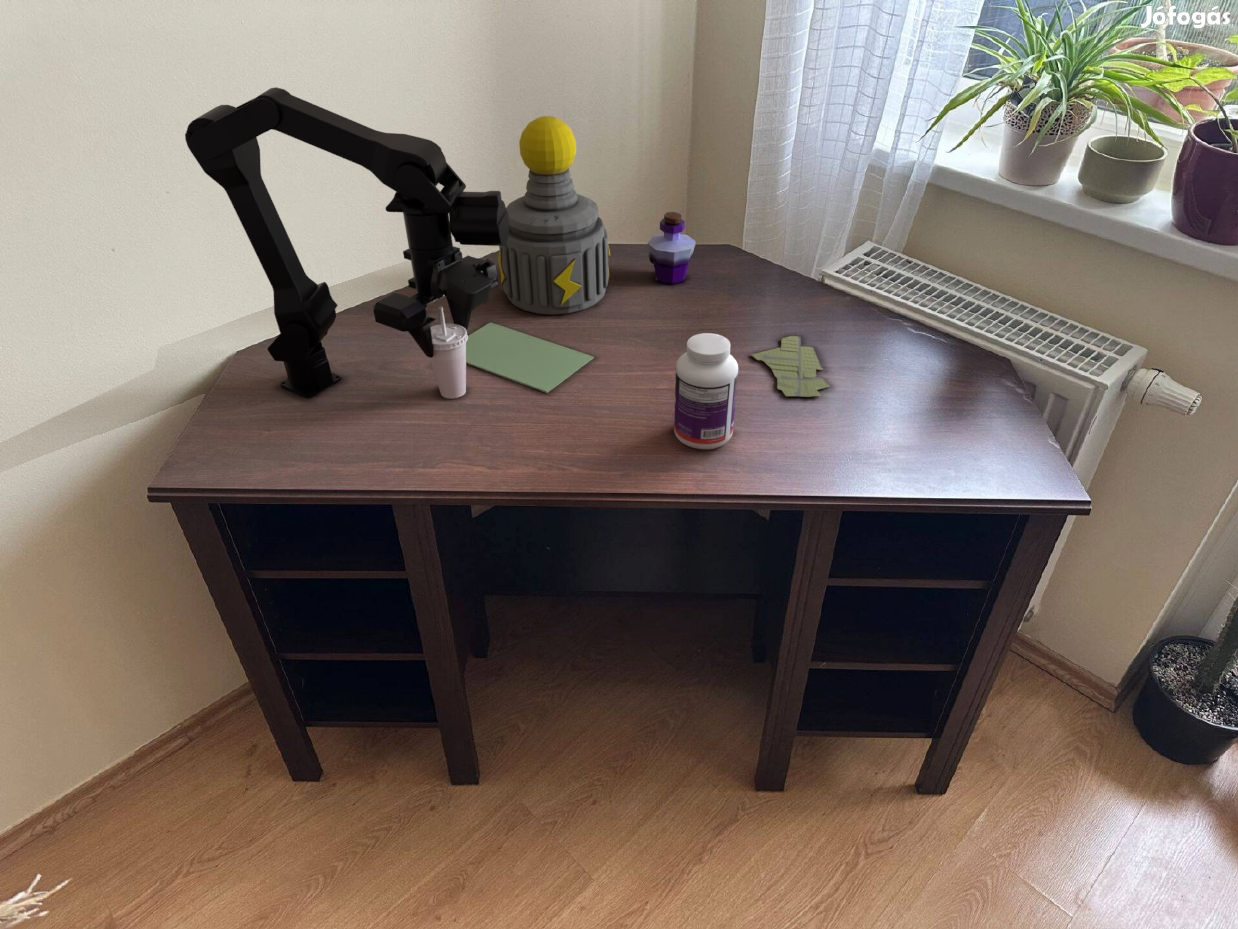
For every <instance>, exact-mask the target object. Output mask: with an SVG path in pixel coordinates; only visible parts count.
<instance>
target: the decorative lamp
mask: <svg viewBox="0 0 1238 929" xmlns="http://www.w3.org/2000/svg"><path fill="white" fill-rule="evenodd" d="M518 145H519V154H520V157H521V159H522V161H523V164H524V165H525V166H526V167H527V169H528V180H527V182H526V184H525V189H526V191H525V193H524V195H523V196H521V197H518V198H516V199H514V200H512V201H511V202H509V203H508V205H507V206H506V210H508V216H509V232H508V239H507V243H506V245H505V246H498V248H499V252H498V256H497V262H498V266H499V271H500V286H502V289H503V292H504V294H505V295H506V296H507V299H508V300H509V302H510V303H511V304H513V306H515V307H516V308H519V309H521V310H522V311H525V312H527V313H528V312H529V313H532V314H536V315H546V316H560V315H569V314H573V313H578V312H582V311H585V310H587V309H590V308H591V307H594V306H595V305H596V304H598V302H600V301H601V300H602V299H603V298H604V296H605V294H606V290H607V287H608V285H609V278H610V270H609V268H610V267H609V260H610V258H611V250H610V246H609V239H608V238H609V236H608V231H607V228H606V227H605V223H604V220H603V219H602V218H601V217H600V214H599V207H598V205H597V204H598V203H596V202H595V201H594V200H593V199H591V198H590V197H588V196H584V195H583V194H582V195H581V194H579V193H577V191H576V190H575V185H574V184H575V183H574V181H573V179H572V177H571V176H572V174H571V172H570V167H571V166H572V164H573V163H574V161H575V157H576V154H577V140H576V138H575V135H574V133H573V131H572V129H571V127H570V126H569V125H568V124H567V123H566V121H563V120H561V119H559V118H557V117H555V116H552V115H543V116H539V117H536V118H534V119H533V120H532V121H529V122H528V124H527V125H526V126H525V128H523V130H522V132H521V134H520V138H519V142H518Z"/></svg>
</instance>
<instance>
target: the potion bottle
mask: <svg viewBox="0 0 1238 929" xmlns="http://www.w3.org/2000/svg"><path fill="white" fill-rule="evenodd" d="M685 229H686V221H685V220H684V219H682V214H681V213H679V212H676V211H668V212H667V211H666V212H665V213H664V214H663V218H662V219H661V220H660V221H659V230H660V231H661V232H662V234H656V235H652V237H651V238H650V240H649V241H648V242H647V248H648V259H649V260H648V261H649V262H650V264H653V268H654V269H653V270H654V272H655V273H654V274H655V281H657V282H659V283H660V284H662V285H669V286H675V285H679V284H683V283H684V282H685V280H686V279H687V277H686V275H687V273H688V268H689V264H690V261H691V259H692V258H693V254H694V252H695V251H694V250H695V247H696V244H697V243H696V242H697V241H696V240H695V239H693V238H692V237H690V236H689V235H687V234H681V233H683V231H684V230H685Z"/></svg>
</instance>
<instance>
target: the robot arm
mask: <svg viewBox="0 0 1238 929" xmlns="http://www.w3.org/2000/svg"><path fill="white" fill-rule="evenodd" d="M186 128H187V129H186V130H185V131H186V132H185V133H184V138H185V139H184V140H185V142H186V143H185V144H186V145H187V148H188V150H189V151H190V153H191V154H192V156H193V157H194V159H195V160H196V162H197V163H198V165H199V166H200V168H201V170H202V171H203V172H204V173H205V174H206V175H207V176H208V177H209V178H210V179H212V180H213V181H214V182H215V183H217V185H219V186H220V187H222V188H223V190H224V191H225V193H226V195H227V197H228V199H229V201H230V203H231V205H232V207H233V210H234V211H235V213H236V215H237V217H238V219H239V222H240V224H241V227H242V228H243V230H244V231H245V234H246V236H247V238H248V240H249V242H250V244H251V246H252V248H253V251H254V253H255V254H256V257H257V259H258V261H259V263H260V265H261V267H262V269H263V271H264V273H265V276H266V277H267V279H268V282H269V284H270V286H271V288H272V291H273V314H274V318H275V321H276V324H277V328H278V330H279V334H278V336H276V337H275V339H274V340H273V341H272V343H270V345H268V347H267V348H266V349H267V352H268V353H269V354H270V356H271V357H272V359H273V361H275V362H283V366H284V368H285V372H286V376H287V378H286V379H284V380H282V381H281V382H280V383H279V385H280V388H283V389H285V390H287V391H290V392H292V393H295V394H296V395H299V396H301V397H304V398H305V399H311V398H313V397H314V396H316V395H318V394H320V393H322V392H323V391H325V390H326V389H328V388H329V387H332V386H334V385H335V384H337V383H338V382H340V381H341V380H342V377H341V376H340V375H339V374H337V373H334V372H332V369H331V365H330V362H329V361H330V360H329V358H328V356H327V353H326V348H325V347H324V346H323V343H322V340H323V339H324V338H325V337H326V336H327V335H328V333H329V330H330V329H331V327H332V326H333V325H334V323H335V321H336V318H337V312H336V309H337V307H338V306H339V305H338V303H337V302H336V301H335V300H334V298H333V297H332V295H331V291H330V288H329V285H328V283H327V282H325V281H323V282H320V283H316V281H314V280H313V279H311V278H310V277H309V276H308V275H307V273H306V272H305V269H304V267H303V265H302V263H301V261H300V259H299V256H298V254H297V252H296V249H295V247H294V244H292V241H291V239H290V237H289V234H288V232H287V230H286V228H285V225H284V223H283V221H282V219H281V217H280V215H279V212H278V210H277V208H276V205H275V204H274V201H273V199H272V197H271V195H270V193H269V190H268V188H267V186H266V183H265V181H264V180H263V177H262V171H261V170H262V169H261V167H262V166H261V164H262V163H261V148H260V144H259V141H258V137H259V136H261V135H263V134H265V133H267V132H269V131H271V130H273V131H276V132H278V133H281V134H283V135H286V136H288V137H291V138H294V139H295V140H298V141H300V142H303V143H305V144H308V145H310V146H313V147H315V148H317V149H320V150H322V151H325V152H327V153H329V154H331V155H334V156H337V157H339V158H342V159H343V160H346V161H349V162H351V163H354V164H356V165H359V166H361V167H362V168H365V169H366V170H367V171H369V172H371V173H372V174H373V176H375V178H376V179H378V181H379V182H380V183H382V184H383V185H385V186H386V187H388V188H390V189H391V190H393V191H394V192H395V193H394V196H393V198H392V199H391V201H390V202H388V204H387V205H386V206H385V208H384V210H385V211H386V212H387V213H402V215H403V221H404V227H405V233H406V239H407V245H408V248H407V249H405V250H403V251H402V255H403V259H404V260H408V261H410V263H411V269H412V274H413V277H411V278H409V279H408V280H407V283H408V287H409V288H411V289H413V290H415V291H416V293H415V294H413V295H411V296H407V295H404V294H401V293H398V292H394V293H392V294H390V295H387V296H386V297H384V298H382V299H380V300H378V301H376V303H375V304H374V305H373V307H372V309H373V310H372V311H373V315H374V320H375V323H377V324H380V325H382V326H385V327H389V328H392V329H394V330H397V331H400V332H403V333H406V332H408V334H409V335H410V336H411V337H412V339H413V340H414V342H415V343H416V344H417V346H418V347H419V348H420V349H421V351H422V352H423V354H424V355H425V356H426V357H428V358H429V357H430V358H432V357H433V342H432V334H431V327H432V326H433V324H434V323H435V322H436V320H437V319H436V318H434V317H432V316H429V314H428V313H429V312H428V306H430V305H432V304H433V303H435V302H437V301H439V300H441V299H443V298H445V299H446V301H447V305H448V308H449V312H450V316H451V318H452V323H453V324H457V325H460V326H462V327H464V328H465V329H466V330H467V331H468V329H469V325H470V321H471V315H472V311H474V310H475V309H476V308H478V307H479V306H482V305H483V304H486V303H488V301H489V298H490V292H491V291H492V290H494V289H496V288H497V287H498V282H499V280H498V271H497V266H496V263H495V262H493V261H492V260H490V259H489V258H487V259H481V258H477V257H475V256H471V255H466V256H463V252H462V251H461V248H460V247H457V246H454V245H453V239H454V241H455V243H459V244H460V245H461V246H491V247H499V246H505V245H506V243H507V239H508V232H509V216H508V210H506V207H507V206H506V202H505V201H504V200H502V198H503V197H502V192H501V191H500V190H488V191H465V190H466V187H467V185H466V183H465V182H464V181H463V180H462V179H461V177H460V176H459V175H458V174H457V173H456V171H455V170H454V169H453V168H452V166H450V164H449V163H448V162H447V159H446V155H445V154H444V152H443V151H442V147H441V146H440V145H438V144H437V143H436V142H434V141H433V140H430V139H428V138H423V137H419V136H415V135H411V134H407V133H395V132H384V131H379V130H376V129H373V128H371V127H369V126H367V125H365V124H362V123H359V122H357V121H355V120H353V119H350V118H348V117H345V116H343V115H340V114H338V113H335V112H333V111H331V110H328V109H326V108H323V107H321V106H320V105H317V104H314V103H312V102H309V101H307V100H304V99H302V98H300V97H298V96H296V95H292V94H291V93H290V92H289V91H288V90H286V89H285V88H282V87H281V88H280V87H270V88H269V89H267V90H265V91H263V92H262V93H261V94H259V95H257V96H256V97H254V98H252V99H250V100H247V101H246V102H244V103H241V104H240V105H238V106H234V105H230V104H220V105H218V106H215V107H214V108H212V109H210V110H208V111H207V112H205V113H202V114H201V115H199V116H198V117H196V118H194V119H193V120H192V121H190V123H189V124H188V126H187V127H186ZM438 184H439V185H441V186H443V187H442V188H441V190H440V189H439V188H438V187H437V186H438ZM430 358H429V359H430Z"/></svg>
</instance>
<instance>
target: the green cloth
mask: <svg viewBox="0 0 1238 929" xmlns="http://www.w3.org/2000/svg"><path fill="white" fill-rule="evenodd" d="M594 358H595V357H594V355H590V354H587V353H584V352H581V351H577V350H574V349H572V348H568V347H565V346H563V345H559V344H557V343H554V342H551V341H549V340H548V341H547V340H545V339H542V338H539V337H536V336H533V335H529V334H527V333H524V332H520V331H519V330H516V329H512V328H510V327H506V326H503V325H500V324H498V323H497V324H496V323H494V322H488V323H487V324H484V326H482V327H480V328H479V329H477V330H475V331H474V332H472V333H470V334H469V335H468V340H467V341H466V365H469V366H471V367H474V368H477V369H480V370H482V371H485V372H488V373H491V374H494V375H496V376H499V377H501V378H505V379H507V380H510V381H513V382H515V383H518V384H521V385H523V386H526V387H529V388H531V389H534V390H536V391H540V392H543V393H544V394H548V393H549V392H551V391H552V390H554V389H555V388H556V387H558V386H559V385H560V384H562V383H563V382H564V381H566V380H567V379H568V378H569V377H571V376H572V375H574V374H575V373H577V371H579V370H580V369H581V368H583V367H584V366H586V365H587V364H588V363H590V362H591V361H592V360H593V359H594Z"/></svg>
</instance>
